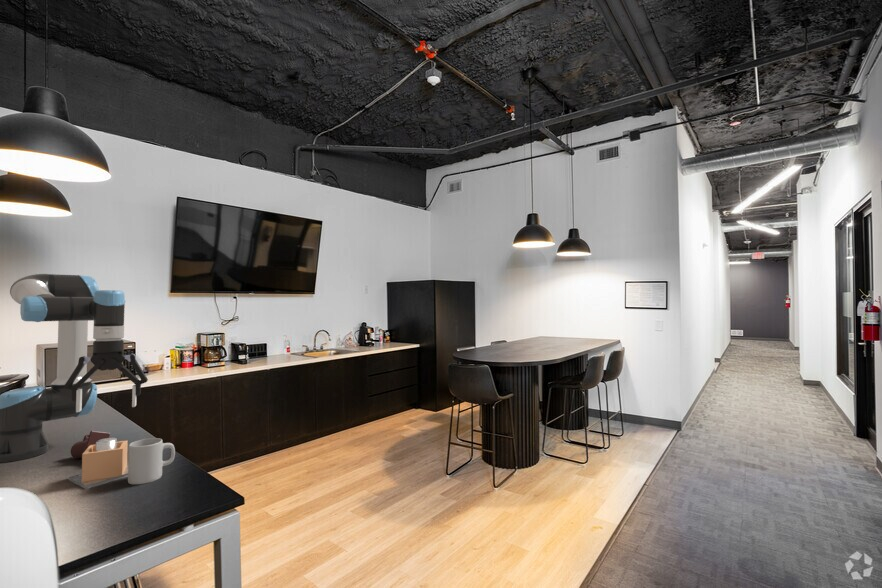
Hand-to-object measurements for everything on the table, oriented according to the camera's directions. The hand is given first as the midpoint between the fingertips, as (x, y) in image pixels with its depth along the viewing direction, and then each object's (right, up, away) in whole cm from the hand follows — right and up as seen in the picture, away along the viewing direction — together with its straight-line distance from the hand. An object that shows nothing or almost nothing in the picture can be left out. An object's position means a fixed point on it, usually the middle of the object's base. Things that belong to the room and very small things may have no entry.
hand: (107, 408), depth 130 cm
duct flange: (0, -21, -1) cm, 21 cm away
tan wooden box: (0, -20, -1) cm, 20 cm away
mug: (+15, -21, -2) cm, 26 cm away
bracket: (-15, -22, +14) cm, 30 cm away
